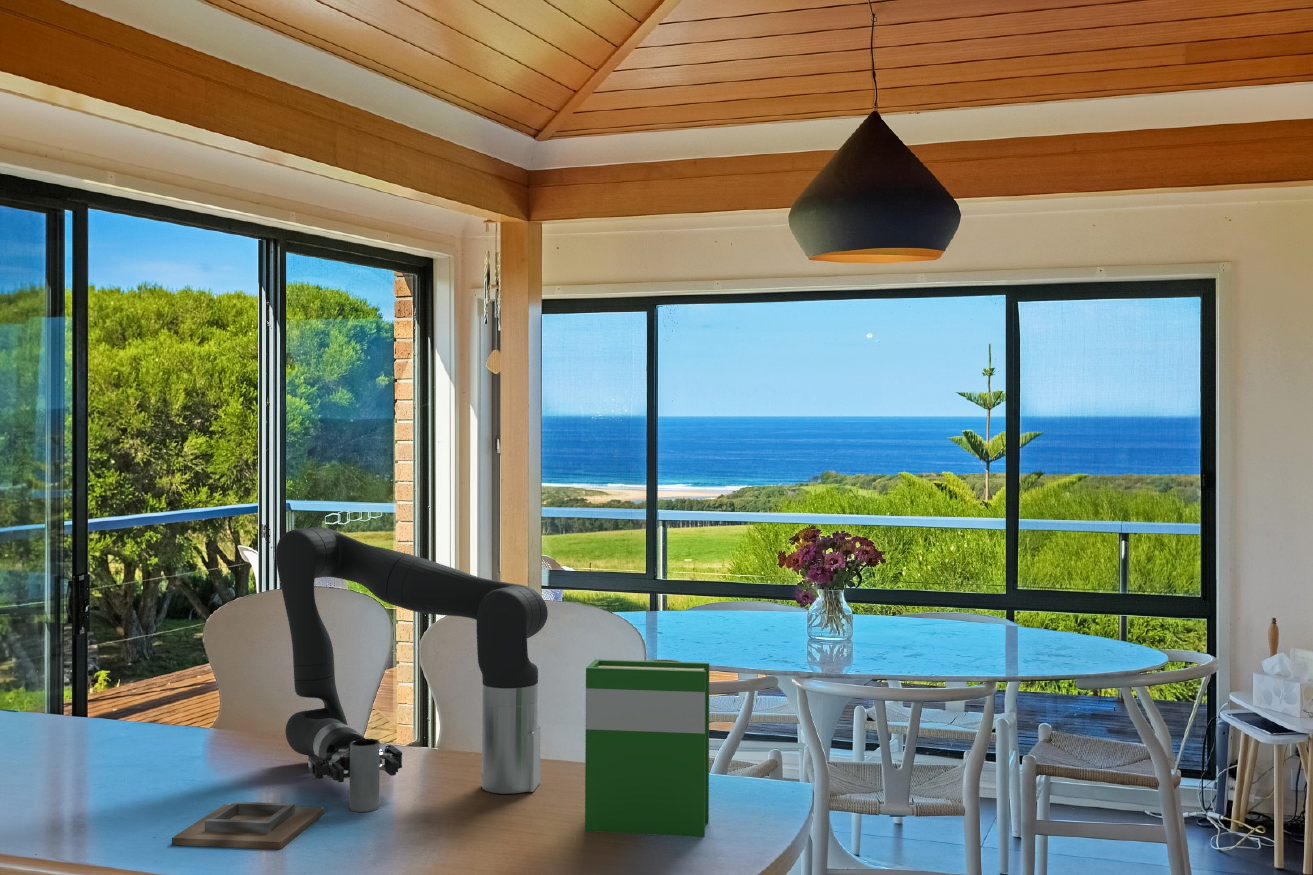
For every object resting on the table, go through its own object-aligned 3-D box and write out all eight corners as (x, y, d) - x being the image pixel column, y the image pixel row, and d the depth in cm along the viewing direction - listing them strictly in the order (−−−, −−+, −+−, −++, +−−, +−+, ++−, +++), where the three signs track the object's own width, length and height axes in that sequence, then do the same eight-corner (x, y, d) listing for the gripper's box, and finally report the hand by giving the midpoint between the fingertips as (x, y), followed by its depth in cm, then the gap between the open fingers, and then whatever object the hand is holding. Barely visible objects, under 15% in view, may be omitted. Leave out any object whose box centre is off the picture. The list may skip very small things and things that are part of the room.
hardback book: (708, 821, 180) (709, 662, 180) (704, 836, 172) (705, 671, 172) (594, 815, 182) (594, 659, 182) (584, 831, 174) (585, 667, 175)
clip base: (323, 814, 182) (323, 798, 182) (280, 848, 166) (281, 831, 166) (223, 810, 183) (223, 794, 183) (171, 844, 167) (171, 827, 167)
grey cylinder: (371, 813, 183) (372, 746, 183) (344, 811, 184) (344, 744, 184) (384, 804, 187) (384, 739, 187) (357, 802, 188) (357, 737, 188)
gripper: (297, 731, 194) (321, 753, 180) (383, 722, 201) (413, 742, 187) (296, 777, 194) (321, 803, 180) (382, 766, 201) (412, 790, 187)
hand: (368, 772), depth 184 cm, fingers open, 7 cm apart
